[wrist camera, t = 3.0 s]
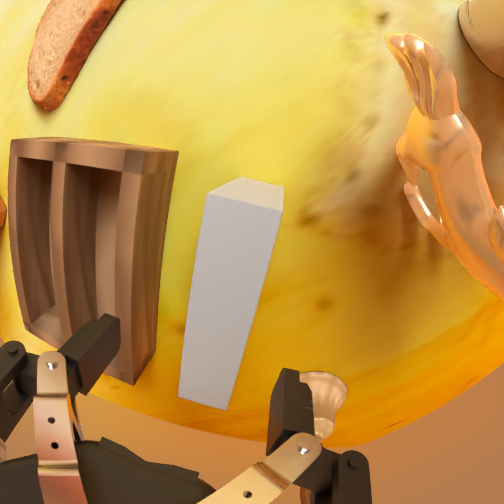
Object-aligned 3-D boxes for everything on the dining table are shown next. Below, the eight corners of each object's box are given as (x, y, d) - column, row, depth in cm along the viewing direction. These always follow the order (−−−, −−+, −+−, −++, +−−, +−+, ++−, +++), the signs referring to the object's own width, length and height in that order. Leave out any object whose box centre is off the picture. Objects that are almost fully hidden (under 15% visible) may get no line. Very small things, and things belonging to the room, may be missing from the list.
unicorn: (335, 78, 18) (426, -54, 2) (374, 61, 17) (495, -47, 1) (429, 284, 23) (528, 415, 7) (460, 264, 22) (572, 373, 6)
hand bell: (279, 368, 28) (266, 509, 13) (355, 371, 27) (380, 503, 12) (271, 414, 31) (258, 529, 16) (337, 417, 30) (346, 528, 15)
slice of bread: (42, 123, 22) (19, 123, 19) (30, 21, 17) (12, 16, 14) (179, 29, 18) (162, 13, 15) (142, -60, 13) (128, -75, 10)
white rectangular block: (284, 187, 22) (282, 211, 12) (245, 331, 27) (226, 410, 17) (240, 176, 22) (207, 193, 13) (210, 322, 27) (178, 396, 17)
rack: (178, 151, 22) (144, 152, 16) (155, 350, 29) (133, 385, 23) (52, 136, 22) (11, 139, 17) (53, 306, 29) (25, 329, 24)
